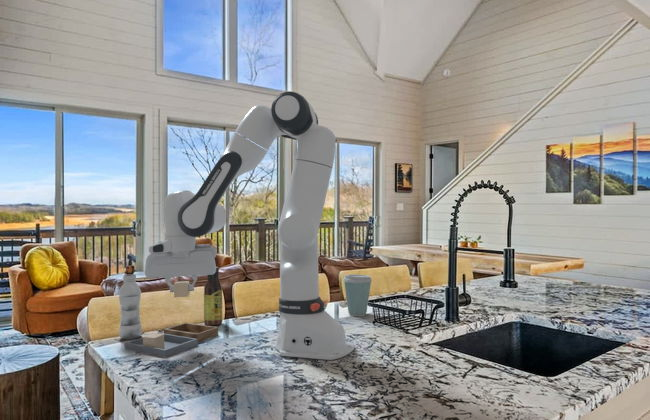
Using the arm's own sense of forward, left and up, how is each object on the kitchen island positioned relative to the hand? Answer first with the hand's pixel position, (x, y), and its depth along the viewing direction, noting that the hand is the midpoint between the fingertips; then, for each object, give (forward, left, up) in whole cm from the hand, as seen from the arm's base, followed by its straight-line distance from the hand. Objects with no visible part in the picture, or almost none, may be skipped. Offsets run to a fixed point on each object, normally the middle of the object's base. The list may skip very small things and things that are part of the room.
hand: (182, 291), depth 137 cm
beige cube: (+1, +10, -15) cm, 18 cm away
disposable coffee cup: (-32, -56, -16) cm, 66 cm away
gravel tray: (+1, +7, -16) cm, 17 cm away
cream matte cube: (0, 0, -1) cm, 1 cm away
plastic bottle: (+18, +4, -16) cm, 24 cm away
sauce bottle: (+8, -22, -16) cm, 28 cm away
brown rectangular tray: (+2, -5, -16) cm, 17 cm away
